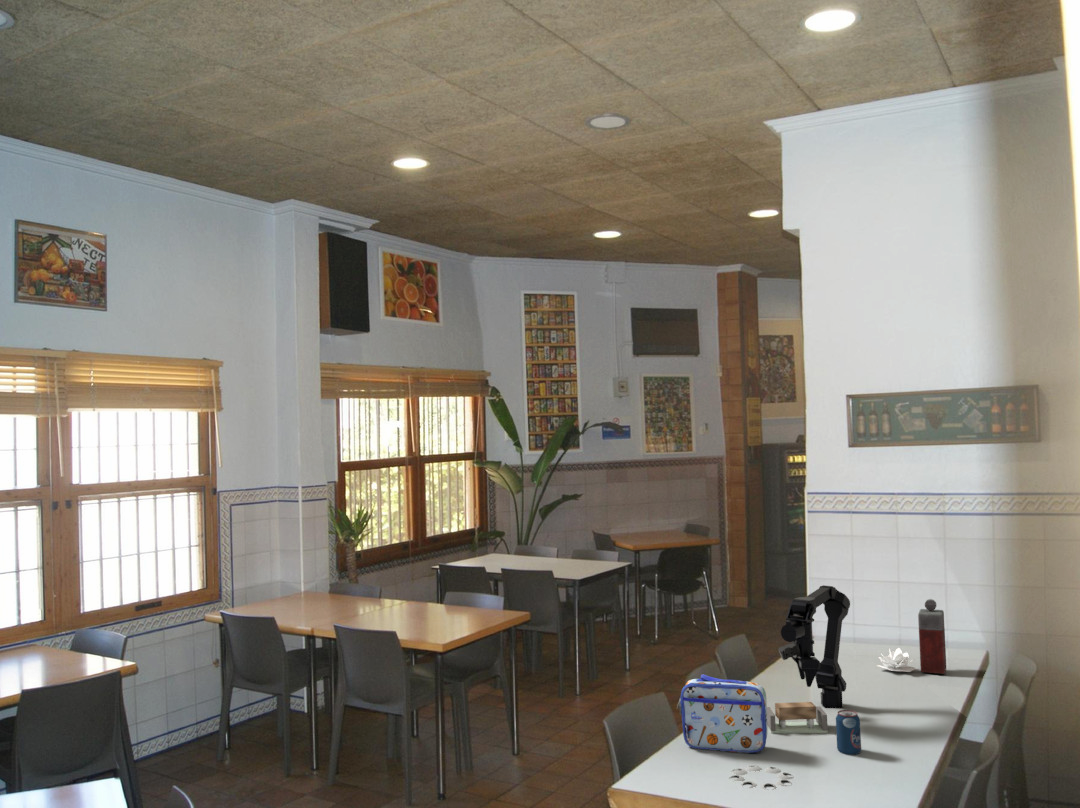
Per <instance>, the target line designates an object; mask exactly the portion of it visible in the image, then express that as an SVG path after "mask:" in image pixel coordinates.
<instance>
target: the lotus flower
mask: <svg viewBox="0 0 1080 808" xmlns="http://www.w3.org/2000/svg"><path fill="white" fill-rule="evenodd" d="M888 652H889V654H888V655H885V656H884V655H883V654H881V656H882V657H881V656H878V659H879V660H880V663H881V664H882V665H880V664H878V665H876V667H878V668H882V669H886V670H888V671H892V672H907V673H912V671H914V670H915V669H916V667H914V666H909V664H910V663H912V662H913V661H914V659H912V660H910V659H909V658H910V655H909V653H908V652H904V653H903V651H902V649H901V648H900V647H897V648H896V649H895V651H894V650H892V651H891V648H888ZM909 660H910V661H909Z"/></svg>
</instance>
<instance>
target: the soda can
mask: <svg viewBox="0 0 1080 808" xmlns="http://www.w3.org/2000/svg"><path fill="white" fill-rule="evenodd" d="M835 730H836V748H837V751H838V752H839V753H841V754H842V755H849V756H850V755H851V756H853V755H854V756H855V755H860V753H861V751H862V738H861V737H862V736H861V735H862V734H861V733H862V732H861V720H860V716H859V714H858V712H857V711H854V710H851V709H841V710H838V711H837V714H836V717H835Z"/></svg>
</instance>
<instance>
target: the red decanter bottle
mask: <svg viewBox="0 0 1080 808" xmlns="http://www.w3.org/2000/svg"><path fill="white" fill-rule="evenodd" d="M924 607H925V608H920V609H919V612H918V613H917V614H918V615H917V618H918V622H917V623H918V639H919V640H918V643H919V659H920V660H919V661H920V662H919V664H920V666H919V667H920V673H931V674H941V675H943V674H945V675H946V673H947V654H946V653H947V652H946V650H947V649H946V634H945V633H946V631H945V630H946V629H945V612H944V610H943V609H936V608H937V602H936V601H935V600H934V599H932V598H929V599H926V600H925V602H924Z"/></svg>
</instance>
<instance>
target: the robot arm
mask: <svg viewBox="0 0 1080 808" xmlns="http://www.w3.org/2000/svg"><path fill="white" fill-rule="evenodd" d="M821 605H824V606H823V608H824V609H823V610H824V613H825V614H826V617H827V624H826V633H825V640H824V641H825V642H824V650H823V651H824V652H823V659H822V660H821V662H820V660H819V659H818V658H817V657H815V652H814V645H815V640H814V637H813V622H814V621H815V619H814V617H813V616H814V615H815V614H816V613H817V608H819V607H820V606H821ZM850 606H851V600H850V598H848V596H847V595H846V594H845V593H843V592H841V591H839V590H838V589H837V588H836V587H835V586H831V585H824V584H823V585H820V586H819V587H818V588H817V589H816V590H814V591H813V592H810V593H809V594H808V595H806V596H801V597H795V598H793V599H792V600H791V602H790V604H789V608H788V611H787V615H786V617H785V620H786V621H785V624H784V625H783V626H782V627H781V629H780V636H781V638H782V639H783V640H784V641H785V642H788V644H786V645H783V646H780V647H778V652H779V655H780V658H781V659H782V661H786V660H788V659H789V658H791V659H792V660H793V661H794V662H795V663H796V666H797V669H798V673H799V678H800V680H805V684H806V687H808V688H811V687H812V684H813V682H814V679H815V682H816V685H817V689H821V691H820V704H821V705H822V707H824V709H845V707H844V705H843V693H844V692H846V690H847V681H846V680H845V679H844V677H843V676H842V675H843V674H842V673H843V672H842V668H841V666H840V664H839V662H838V661H839V653H840V645H841V644H840V643H841V635H842V627H843V626H842V625H843V621H844V619H845V618H846V617H847V616H848V614H849V609H850Z"/></svg>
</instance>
